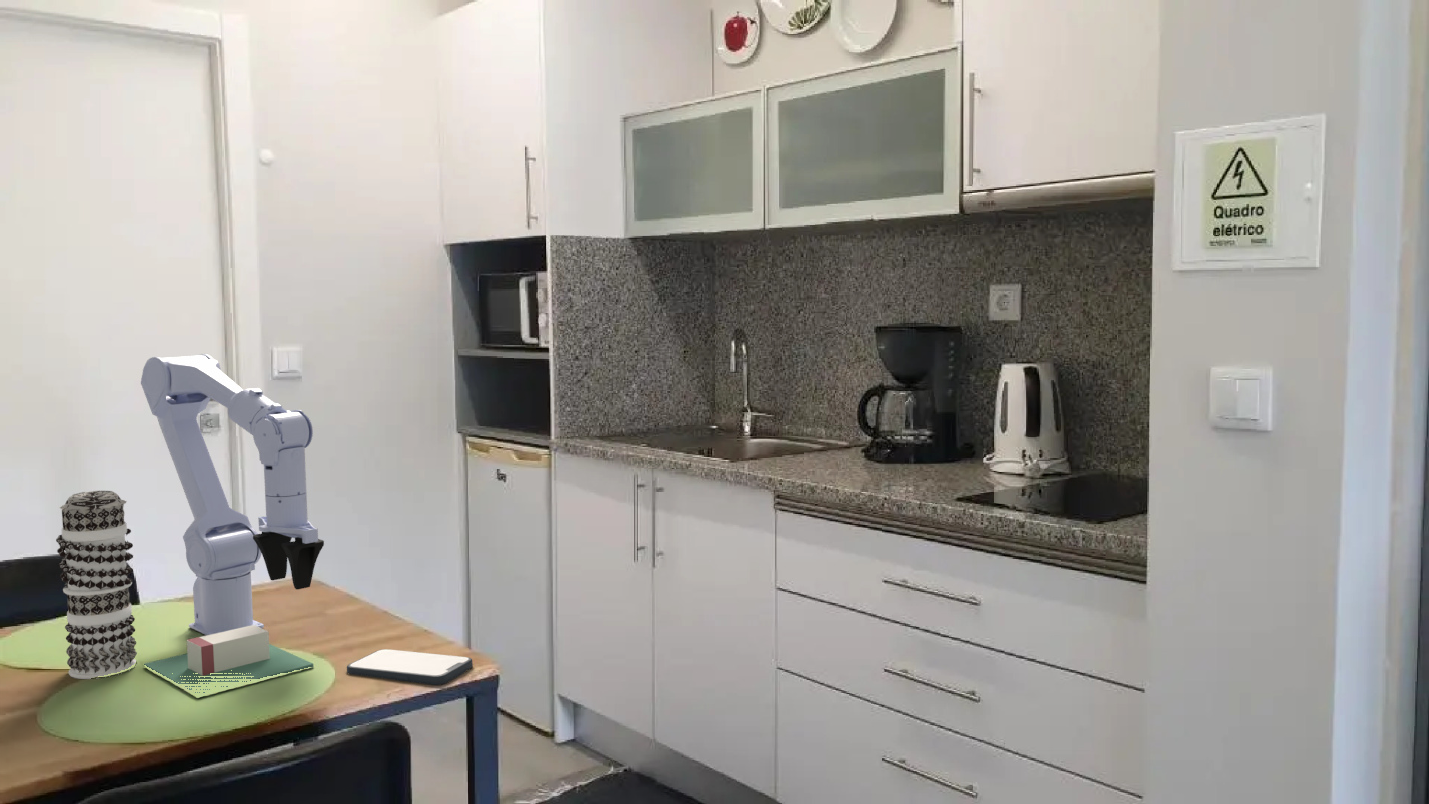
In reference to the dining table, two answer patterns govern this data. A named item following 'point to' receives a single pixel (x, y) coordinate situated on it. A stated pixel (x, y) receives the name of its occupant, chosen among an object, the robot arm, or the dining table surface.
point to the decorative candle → (97, 584)
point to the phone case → (411, 666)
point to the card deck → (227, 649)
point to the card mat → (269, 667)
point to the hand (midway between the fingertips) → (290, 583)
